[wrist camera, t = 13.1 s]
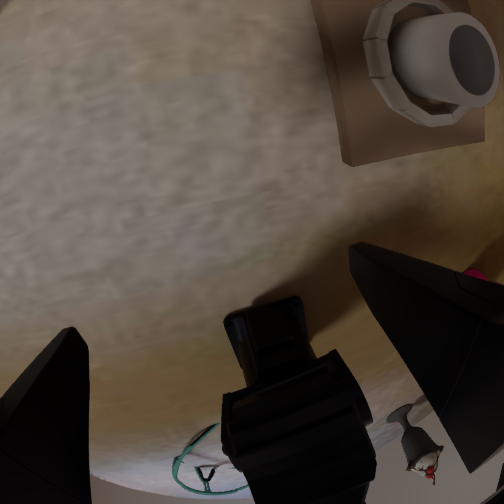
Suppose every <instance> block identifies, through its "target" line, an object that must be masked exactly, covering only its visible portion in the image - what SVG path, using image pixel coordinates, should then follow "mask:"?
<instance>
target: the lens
mask: <svg viewBox="0 0 504 504" xmlns="http://www.w3.org/2000/svg"><path fill="white" fill-rule="evenodd" d="M388 50H389V56H390V61H391V67H392V71H393V73H394V75H395V77H396V79H397V80H398V82H399V83H400V84H401V85H402V87H403V88H404V89H405V90H407V91H408V92H409V93H411V94H412V95H414V96H417V97H420V98H425V99H431V100H437V101H443V102H448V103H454V104H459V105H464V106H468V107H473V108H481V107H484V106H486V105H487V104H489V103H490V102H491V100H492V99H493V98H494V96H495V94H496V91H497V88H498V84H499V76H500V68H499V60H498V55H497V51H496V48H495V46H494V43H493V41H492V39H491V37H490V35H489V33H488V32H487V30H486V29H485V28H484V26H483V25H482V24H481V23H480V22H479V21H478V20H477V19H475V18H474V17H473V16H471V15H469V14H466V13H461V12H457V13H448V14H439V15H432V16H425V17H418V18H412V19H407V20H403V21H401V22H399V23H398V24H397V25H396V26H395V27H394V28H393V30H392V32H391V34H390V36H389V40H388Z"/></svg>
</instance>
